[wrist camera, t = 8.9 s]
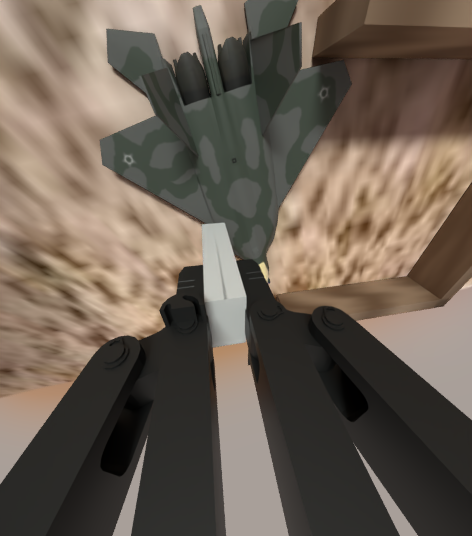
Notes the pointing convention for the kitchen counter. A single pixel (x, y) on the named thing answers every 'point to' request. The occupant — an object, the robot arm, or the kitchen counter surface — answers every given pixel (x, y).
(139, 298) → the kitchen counter surface
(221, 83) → the fighter jet
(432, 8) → the brown wooden bracket
